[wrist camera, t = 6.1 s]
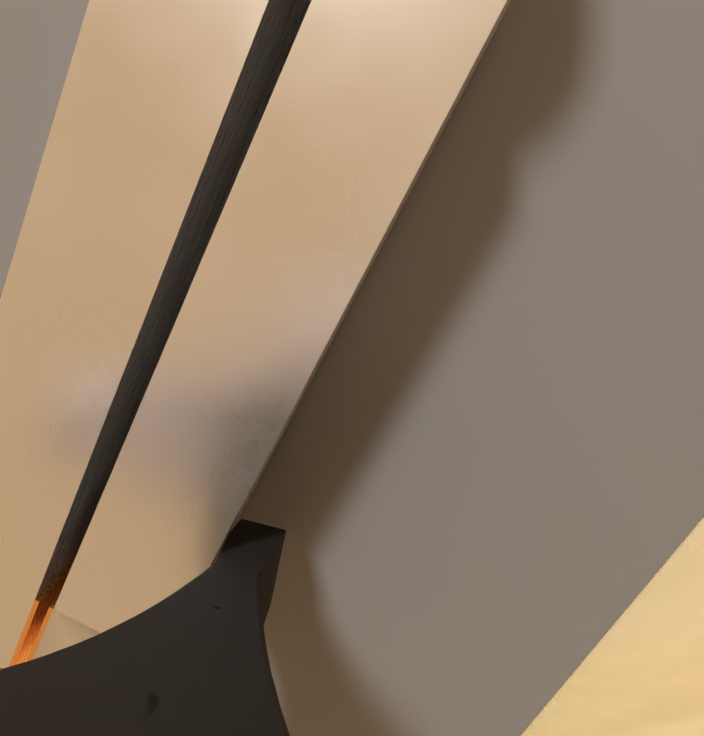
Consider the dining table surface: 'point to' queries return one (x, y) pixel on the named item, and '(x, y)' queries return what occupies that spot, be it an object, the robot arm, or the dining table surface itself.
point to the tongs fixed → (115, 258)
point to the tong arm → (271, 292)
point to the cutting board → (480, 376)
